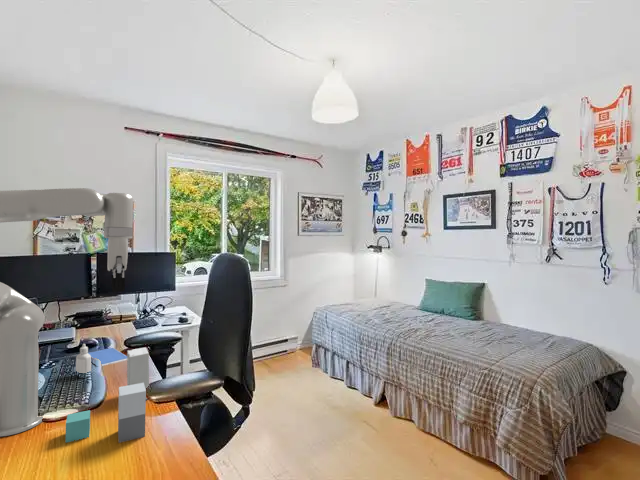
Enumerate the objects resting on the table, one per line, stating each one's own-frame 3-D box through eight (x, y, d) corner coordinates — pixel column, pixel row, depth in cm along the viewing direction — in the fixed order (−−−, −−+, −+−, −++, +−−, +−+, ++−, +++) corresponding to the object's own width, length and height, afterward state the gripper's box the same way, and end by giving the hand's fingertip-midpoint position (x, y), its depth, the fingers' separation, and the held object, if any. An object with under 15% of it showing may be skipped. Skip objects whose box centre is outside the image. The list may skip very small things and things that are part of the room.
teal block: (65, 443, 88) (65, 423, 88) (67, 433, 92) (67, 414, 92) (89, 437, 90) (89, 418, 90) (89, 428, 95) (90, 410, 95)
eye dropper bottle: (77, 380, 125) (77, 347, 125) (75, 375, 129) (76, 343, 129) (91, 377, 128) (92, 344, 127) (89, 372, 132) (90, 341, 132)
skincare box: (149, 399, 112) (150, 353, 112) (128, 404, 108) (129, 356, 108) (146, 389, 119) (146, 346, 119) (125, 393, 115) (126, 349, 115)
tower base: (118, 442, 88) (119, 419, 88) (118, 431, 93) (118, 409, 93) (144, 436, 91) (145, 413, 91) (143, 425, 97) (143, 404, 97)
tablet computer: (130, 360, 147) (130, 357, 147) (97, 368, 137) (97, 365, 137) (113, 350, 159) (113, 347, 159) (81, 357, 150) (81, 354, 150)
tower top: (119, 419, 88) (119, 396, 88) (118, 409, 93) (118, 387, 93) (145, 413, 91) (145, 391, 91) (143, 404, 97) (143, 382, 96)
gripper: (104, 233, 112) (103, 286, 112) (104, 233, 98) (103, 294, 98) (130, 233, 116) (129, 284, 116) (134, 233, 102) (133, 292, 102)
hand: (117, 288), depth 107 cm, fingers open, 9 cm apart
